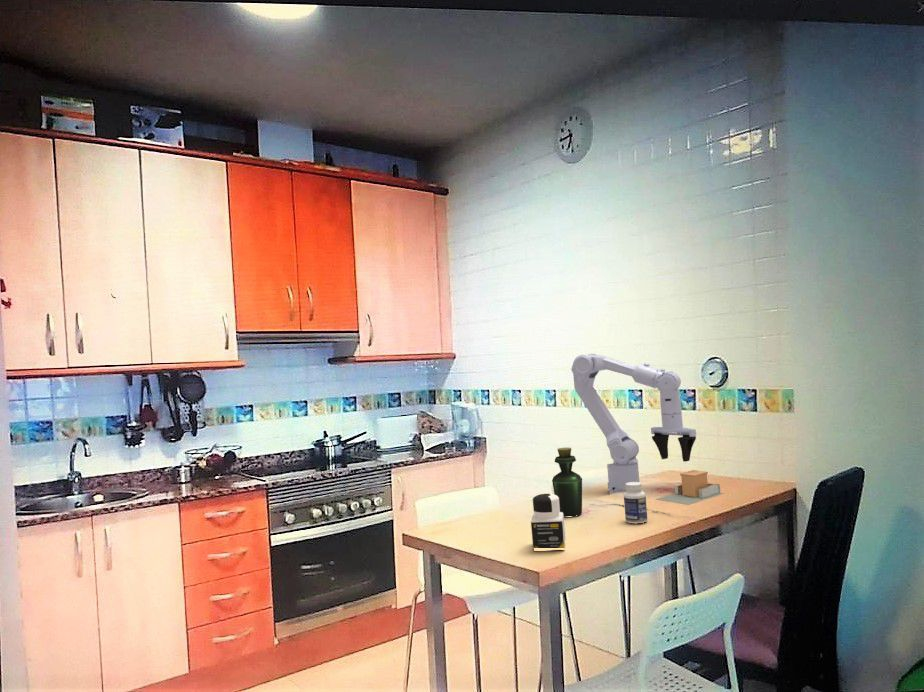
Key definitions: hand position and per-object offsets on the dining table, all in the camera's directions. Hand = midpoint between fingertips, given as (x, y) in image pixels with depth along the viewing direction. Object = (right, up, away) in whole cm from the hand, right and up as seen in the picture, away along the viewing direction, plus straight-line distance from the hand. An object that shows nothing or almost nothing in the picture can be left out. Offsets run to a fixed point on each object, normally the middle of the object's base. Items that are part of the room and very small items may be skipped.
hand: (675, 459), depth 196 cm
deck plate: (+1, -10, -9) cm, 14 cm away
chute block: (+3, -8, -8) cm, 12 cm away
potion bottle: (-33, -13, -13) cm, 38 cm away
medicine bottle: (-42, -13, -41) cm, 60 cm away
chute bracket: (+4, -8, -8) cm, 12 cm away
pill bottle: (-18, -12, -26) cm, 34 cm away
